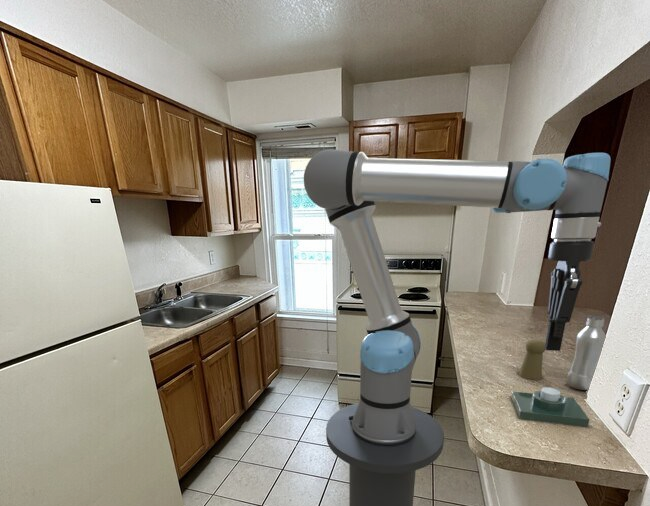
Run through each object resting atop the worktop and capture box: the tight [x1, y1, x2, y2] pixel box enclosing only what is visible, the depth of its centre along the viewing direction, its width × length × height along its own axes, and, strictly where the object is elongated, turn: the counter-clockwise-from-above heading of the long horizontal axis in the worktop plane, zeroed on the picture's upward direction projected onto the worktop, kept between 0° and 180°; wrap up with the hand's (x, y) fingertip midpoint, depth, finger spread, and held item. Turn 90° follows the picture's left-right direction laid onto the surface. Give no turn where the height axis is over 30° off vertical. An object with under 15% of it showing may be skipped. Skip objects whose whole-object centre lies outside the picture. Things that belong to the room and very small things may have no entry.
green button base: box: [511, 390, 590, 428], centre depth 86 cm, size 14×11×4 cm
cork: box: [518, 339, 547, 381], centre depth 105 cm, size 6×6×11 cm
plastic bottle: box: [566, 316, 607, 391], centre depth 95 cm, size 6×7×20 cm
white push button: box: [540, 386, 562, 402], centre depth 85 cm, size 4×4×2 cm
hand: (552, 349), depth 80 cm, fingers closed
